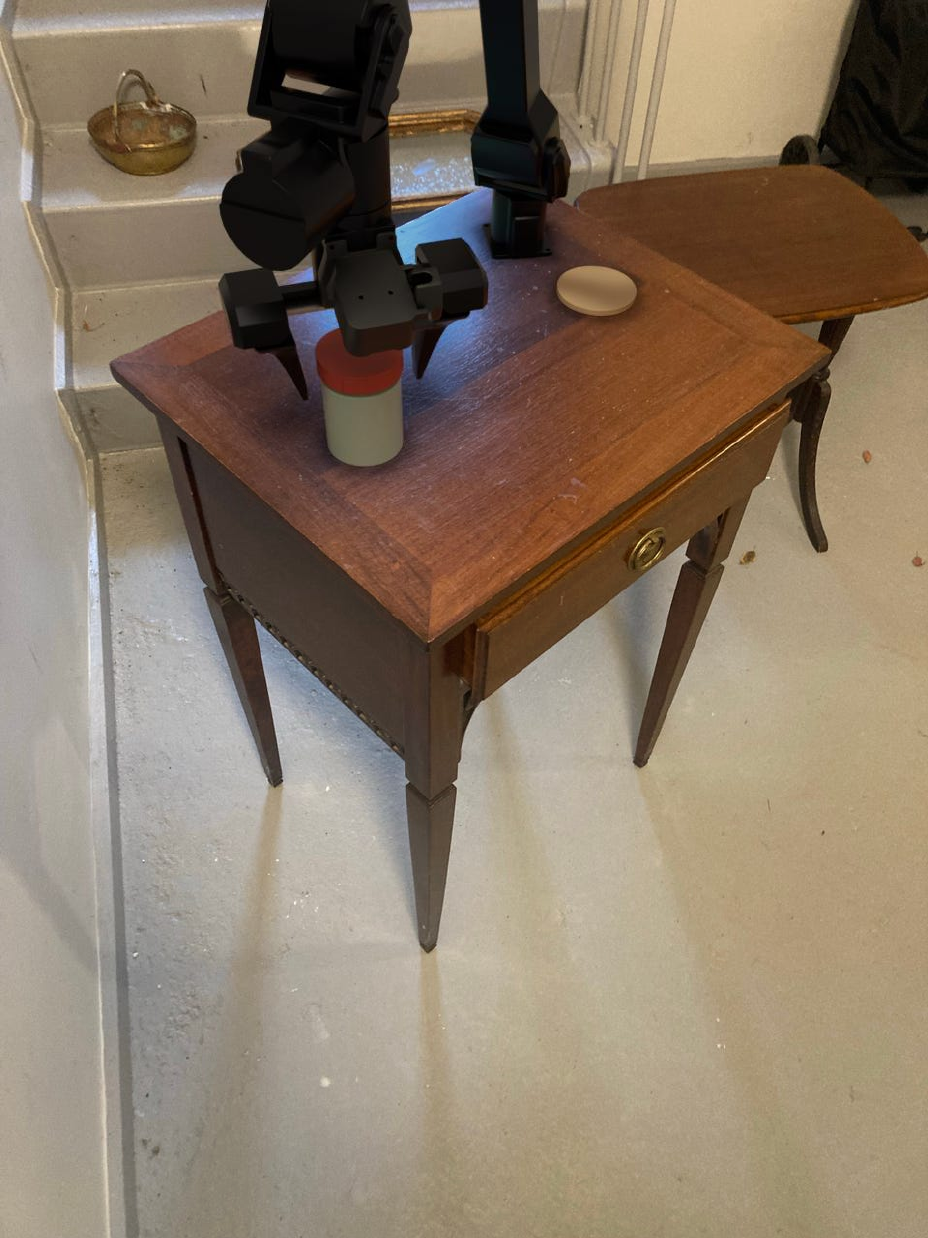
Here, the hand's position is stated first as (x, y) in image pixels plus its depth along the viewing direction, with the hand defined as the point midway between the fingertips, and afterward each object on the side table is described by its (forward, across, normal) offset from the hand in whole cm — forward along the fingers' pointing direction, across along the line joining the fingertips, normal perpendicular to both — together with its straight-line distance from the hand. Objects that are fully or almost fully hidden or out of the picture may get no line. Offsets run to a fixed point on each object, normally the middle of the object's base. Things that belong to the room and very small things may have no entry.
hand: (361, 386), depth 74 cm
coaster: (+6, +28, +15) cm, 32 cm away
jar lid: (-3, 0, 0) cm, 3 cm away
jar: (+6, 0, 0) cm, 6 cm away
